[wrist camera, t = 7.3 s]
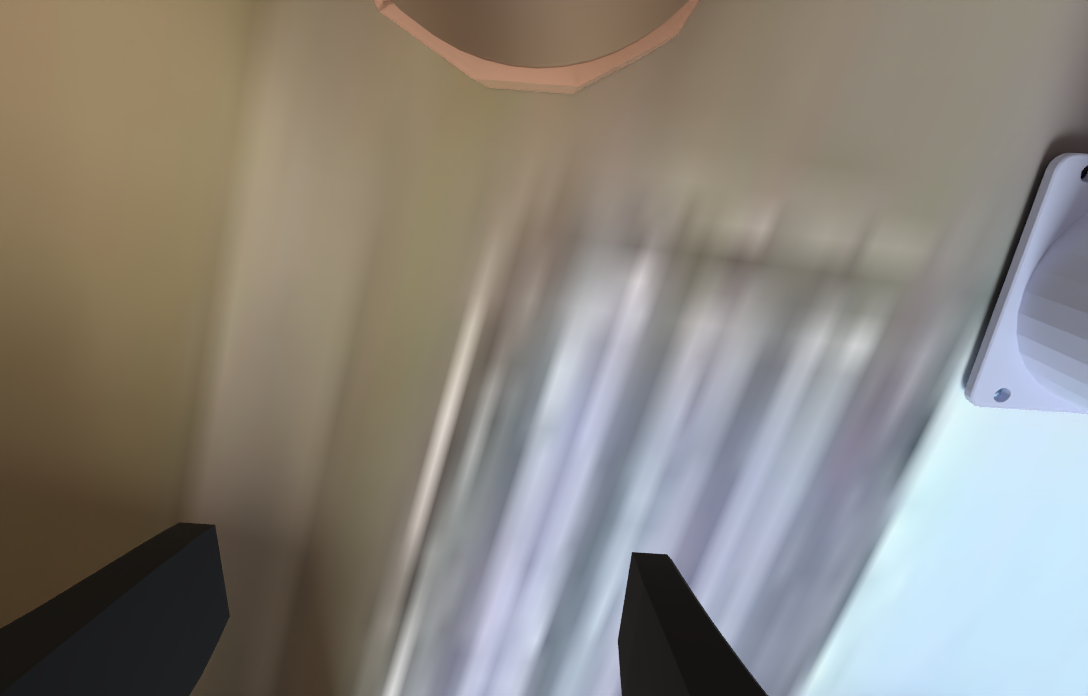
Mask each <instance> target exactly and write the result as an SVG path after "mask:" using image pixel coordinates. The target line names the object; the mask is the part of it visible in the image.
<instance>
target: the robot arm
mask: <svg viewBox="0 0 1088 696" xmlns="http://www.w3.org/2000/svg"><path fill="white" fill-rule="evenodd" d="M1086 166H1088V154H1083V153H1063V154H1061V155H1059V156H1057V157H1055V158H1054V159H1053V160H1052V161H1051V162H1050V163H1049V165H1048V167H1047V169H1046V171H1045V174H1044V176H1043V179H1042V182H1041V184H1040V187H1039V190H1038V192H1037V195H1036V198H1035V201H1034V203H1033V206H1032V209H1031V211H1030V214H1029V217H1028V220H1027V222H1026V225H1025V228H1024V230H1023V233H1022V236H1021V239H1020V241H1019V244H1018V247H1017V249H1016V252H1015V255H1014V258H1013V260H1012V263H1011V266H1010V268H1009V271H1008V274H1007V277H1006V279H1005V282H1004V285H1003V287H1002V290H1001V293H1000V295H999V298H998V301H997V304H996V306H995V309H994V312H993V314H992V317H991V320H990V323H989V325H988V328H987V331H986V333H985V336H984V339H983V342H982V344H981V347H980V350H979V352H978V355H977V358H976V361H975V363H974V366H973V369H972V371H971V374H970V377H969V379H968V382H967V385H966V388H965V393H964V394H965V397H966V399H967V400H968V401H969V402H971V403H972V404H974V405H975V406H978V407H985V408H1000V409H1015V410H1029V411H1044V412H1059V413H1074V414H1088V173H1087V174H1086V176H1085V177H1084V178H1083V179H1081V178H1080V177H1081V172H1082V170H1083V169H1084V167H1086ZM1001 388H1002V391H1001V392H1000V394H999V395H997V396H995V397H994V394H995V393H996V392H997V391H998V390H999V389H1001ZM229 617H230V615H229V609H228V602H227V596H226V590H225V584H224V578H223V571H222V565H221V559H220V553H219V547H218V540H217V534H216V528H215V525H209V524H194V523H178V524H176V525H174V526H172V527H170V528H169V529H167V530H165V531H163V532H162V533H160V534H158V535H156V536H155V537H153V538H151V539H150V540H148V541H146V542H145V543H143V544H141V545H140V546H138V547H136V548H135V549H133V550H131V551H130V552H128V553H127V554H125V555H123V556H122V557H120V558H118V559H117V560H115V561H114V562H112V563H110V564H109V565H107V566H105V567H104V568H102V569H101V570H99V571H97V572H96V573H94V574H92V575H91V576H89V577H87V578H86V579H84V580H82V581H81V582H79V583H78V584H76V585H74V586H73V587H71V588H69V589H68V590H66V591H64V592H63V593H61V594H59V595H58V596H56V597H54V598H53V599H51V600H49V601H48V602H46V603H45V604H43V605H41V606H40V607H38V608H36V609H35V610H33V611H31V612H29V613H28V614H26V615H24V616H22V617H21V618H19V619H17V620H15V621H14V622H12V623H10V624H8V625H7V626H5V627H3V628H1V629H0V696H189V695H190V693H191V692H192V690H193V688H194V687H195V685H196V683H197V682H198V680H199V679H200V677H201V675H202V673H203V671H204V669H205V667H206V665H207V663H208V661H209V659H210V657H211V655H212V653H213V651H214V649H215V647H216V645H217V642H218V640H219V638H220V636H221V634H222V632H223V630H224V627H225V625H226V623H227V621H228V619H229ZM618 648H619V663H620V677H621V689H622V696H768V695H767V694H766V692H765V691H764V690H763V689H762V688H761V686H760V685H759V684H758V682H757V681H756V680H755V678H754V677H753V676H752V675H751V673H750V672H749V671H748V669H747V668H746V667H745V665H744V664H743V663H742V661H741V660H740V659H739V657H738V656H737V655H736V653H735V652H734V651H733V649H732V648H731V646H730V645H729V644H728V642H727V641H726V640H725V638H724V637H723V636H722V634H721V633H720V631H719V630H718V629H717V627H716V626H715V624H714V623H713V622H712V620H711V619H710V617H709V616H708V614H707V613H706V611H705V610H704V608H703V607H702V605H701V604H700V603H699V601H698V600H697V598H696V597H695V595H694V594H693V592H692V591H691V589H690V587H689V586H688V584H687V583H686V581H685V580H684V578H683V577H682V575H681V574H680V572H679V570H678V569H677V567H676V566H675V564H674V563H673V561H672V560H671V559H670V557H669V556H668V555H667V554H652V553H636V552H632V556H631V562H630V569H629V575H628V581H627V587H626V594H625V600H624V606H623V612H622V618H621V625H620V631H619V637H618Z"/></svg>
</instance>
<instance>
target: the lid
mask: <svg viewBox="0 0 1088 696" xmlns="http://www.w3.org/2000/svg"><path fill="white" fill-rule="evenodd" d="M391 1H392V2H393V3H394V4H395V5H396V6H397V7H398V8H399V9H400V10H401V11H402V12H404V13H405V14H406V15H407V16H409V17H410V18H411V19H413V20H414V21H415V22H417V23H418V24H419V25H421V26H422V27H423V28H425V29H426V30H427V31H429V32H430V33H431V34H433V35H434V36H436V37H437V38H439V39H441V40H443V41H444V42H446V43H448V44H450V45H452V46H453V47H455V48H457V49H459V50H461V51H463V52H466V53H469V54H471V55H474V56H476V57H479V58H481V59H484V60H487V61H491V62H496V63H500V64H504V65H508V66H515V67H526V68H537V69H538V68H556V67H566V66H571V65H576V64H581V63H586V62H591V61H593V60H596V59H599V58H602V57H605V56H608V55H610V54H613V53H616V52H618V51H620V50H622V49H623V48H625V47H627V46H629V45H631V44H633V43H635V42H637V41H639V40H641V39H642V38H643V37H645V36H646V35H648V34H649V33H651V32H652V31H654V30H655V29H656V28H658V27H659V26H661V25H662V24H664V23H665V22H666V21H667V20H668V19H669V18H670V17H671V16H673V15H674V14H675V13H676V12H677V11H678V10H679V9H680V8H681V7H683V6H684V5H685V4H686V3H687V2H688V1H689V0H391Z"/></svg>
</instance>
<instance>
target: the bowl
mask: <svg viewBox="0 0 1088 696" xmlns="http://www.w3.org/2000/svg"><path fill="white" fill-rule="evenodd" d="M699 1H700V0H689V1H688V2H687V3H686V4H685V5H684V6H683V7H681V8H680V9H679V10H678V11H677V12H676V13H675V14H674V15H673V16H671V17H670V18H669V19H668V20H667V21H666V22H665V23H664V24H662V25H661V26H659V27H658V28H656V29H655V30H654V31H652V32H651V33H649V34H648V35H646V36H645V37H643V38H642V39H641V40H639V41H637V42H635V43H633V44H631V45H629V46H627V47H625V48H623V49H622V50H620V51H618V52H616V53H613V54H610V55H608V56H605V57H602V58H599V59H596V60H593V61H591V62H586V63H581V64H576V65H571V66H566V67H556V68H538V69H537V68H526V67H515V66H508V65H504V64H500V63H496V62H491V61H487V60H484V59H481V58H479V57H476V56H474V55H471V54H469V53H466V52H463V51H461V50H459V49H457V48H455V47H453V46H452V45H450V44H448V43H446V42H444V41H443V40H441V39H439V38H437V37H436V36H434V35H433V34H431V33H430V32H429V31H427V30H426V29H425V28H423V27H422V26H421V25H419V24H418V23H417V22H415V21H414V20H413V19H411V18H410V17H409V16H407V15H406V14H405V13H404V12H402V11H401V10H400V9H399V8H398V7H397V6H396V5H395V4H394V3H393V2H392V1H391V0H374V2H375V4H376V6H377V8H378V10H379V12H381V13H382V14H384V15H385V16H387V17H388V18H389V19H391V20H392V21H394V22H395V23H396V24H398V25H399V26H401V27H402V28H403V29H405V30H406V31H407V32H409V33H410V34H412V35H413V36H414V37H416V38H417V39H419V40H420V41H421V42H423V43H424V44H425V45H427V46H428V47H430V48H431V49H432V50H434V51H435V52H437V53H438V54H439V55H441V56H442V57H444V58H445V59H446V60H448V61H449V62H450V63H452V64H453V65H455V66H456V67H457V68H459V69H460V70H462V71H463V72H464V73H466V74H467V75H468V76H470V77H471V78H472V79H474V80H476V81H477V82H479V83H481V84H482V85H484V86H486V87H488V88H499V89H512V90H525V91H538V92H551V93H564V94H574V93H576V92H578V91H579V90H581V89H583V88H585V87H587V86H589V85H591V84H593V83H595V82H596V81H598V80H600V79H602V78H604V77H606V76H608V75H610V74H612V73H614V72H615V71H617V70H619V69H621V68H623V67H625V66H627V65H629V64H631V63H633V62H634V61H636V60H638V59H640V58H642V57H644V56H646V55H648V54H650V53H652V52H653V51H654V50H656V49H657V48H659V47H660V46H662V45H663V44H664V43H666V42H667V41H669V40H670V39H672V38H673V37H674V36H676V35H677V34H678V33H679V31H680V30H681V28H682V27H683V25H684V24H685V22H686V21H687V19H688V18H689V16H690V15H691V13H692V12H693V10H694V9H695V7H696V6H697V4H698V3H699Z"/></svg>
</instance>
